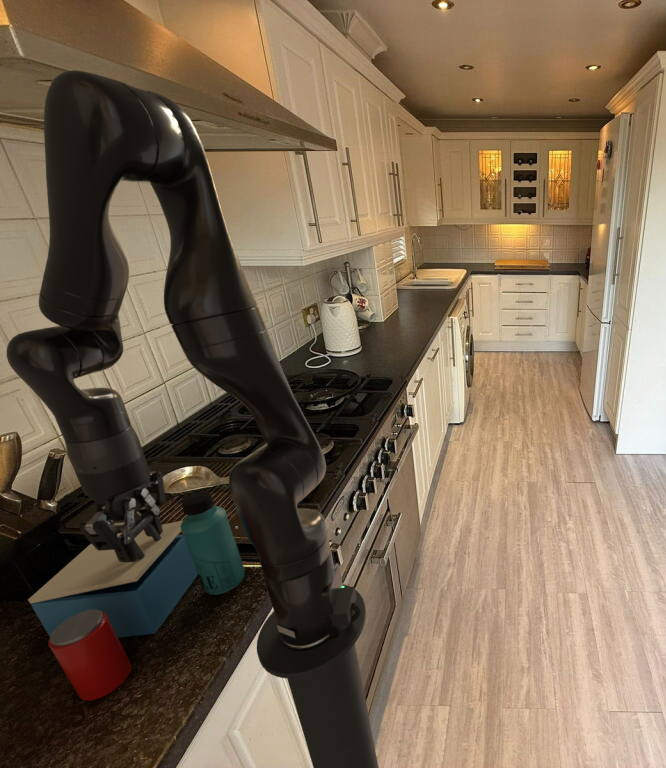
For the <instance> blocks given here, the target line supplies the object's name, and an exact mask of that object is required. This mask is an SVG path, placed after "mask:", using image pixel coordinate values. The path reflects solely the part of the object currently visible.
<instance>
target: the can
mask: <svg viewBox="0 0 666 768" xmlns="http://www.w3.org/2000/svg"><path fill="white" fill-rule="evenodd" d="M48 647H49V648H50V651H51V652H52V654H53V655H54V657H55V659H56V661H57V662H58V664H59V665H60V667H61V669H62V670H63V672H64V674H65V676H66V677H67V679H68V681H69V682H70V684H71V686H72V687H73V690H74V691H75V693H76V694H77V696H78V698H79V699H80V700H82V701H87V702H88V701H95V700H98V699H100V698H103V697H105V696H107V695H109V694H110V693H112V692H113V691H115V690H116V689H117V688H119V687H120V686H121V685H122V684H123V683H124V682H125V681H126V680H127V678H128V677H129V675H130V673H131V672H132V663H131V661H130V659H129V657H128V655H127V653H126V651H125V649H124V647H123V645H122V643H121V640H120V638H118V637H117V635H116V633H115V631H114V629H113V627H112V625H111V623H110V621H109V619H108V617H107V615H106V613H104V612H102V611H99V610H88V611H84V612H81V613H78V614H76V615H74V616H72V617H70V618H68V619H67V620H65V621H64V622H62V623H61V624H60V625H59V626H58V627H56V629H55V630H54V631H53V632H52V634H51V636H49V640H48Z"/></svg>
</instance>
